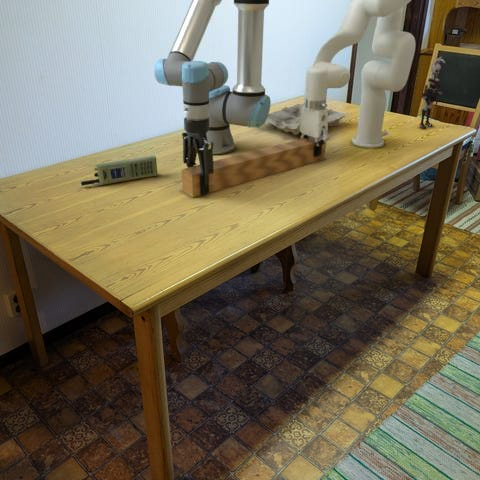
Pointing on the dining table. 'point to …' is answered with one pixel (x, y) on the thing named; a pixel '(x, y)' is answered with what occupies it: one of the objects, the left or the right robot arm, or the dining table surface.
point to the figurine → (431, 92)
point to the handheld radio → (124, 170)
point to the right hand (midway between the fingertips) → (310, 152)
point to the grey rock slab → (298, 118)
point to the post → (252, 165)
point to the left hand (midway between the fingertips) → (198, 189)
